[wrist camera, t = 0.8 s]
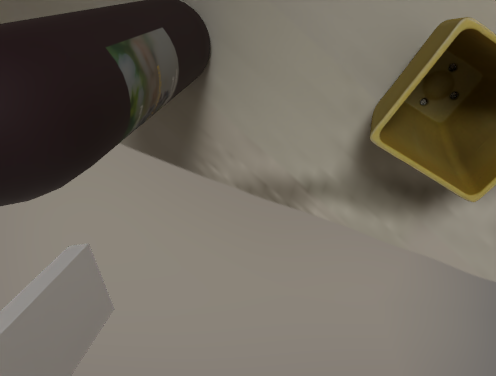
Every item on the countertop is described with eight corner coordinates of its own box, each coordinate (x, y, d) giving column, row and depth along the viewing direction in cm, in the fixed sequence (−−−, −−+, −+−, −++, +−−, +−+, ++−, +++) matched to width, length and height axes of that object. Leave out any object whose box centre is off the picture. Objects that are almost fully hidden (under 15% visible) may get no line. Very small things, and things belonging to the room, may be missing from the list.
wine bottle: (173, 99, 36) (-214, 428, 10) (117, 36, 34) (-541, 244, 8) (228, 48, 33) (-123, 337, 7) (171, -24, 31) (-610, 7, 5)
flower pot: (356, 100, 33) (366, 140, 25) (429, 2, 29) (467, 13, 21) (440, 152, 34) (474, 205, 26) (522, 64, 30) (592, 97, 22)
